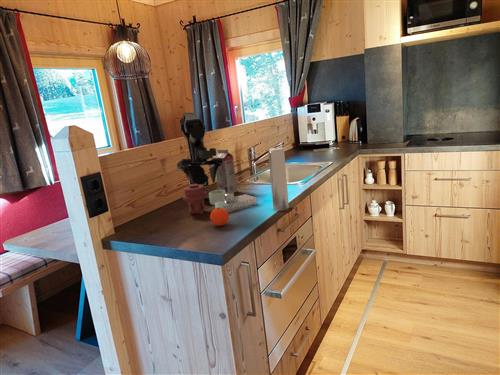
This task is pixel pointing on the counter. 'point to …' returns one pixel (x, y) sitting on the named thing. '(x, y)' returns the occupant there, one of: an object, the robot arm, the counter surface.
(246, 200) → the beige rectangular block
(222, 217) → the clementine
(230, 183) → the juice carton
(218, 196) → the collar
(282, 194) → the tall grey block
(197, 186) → the mechanical component
